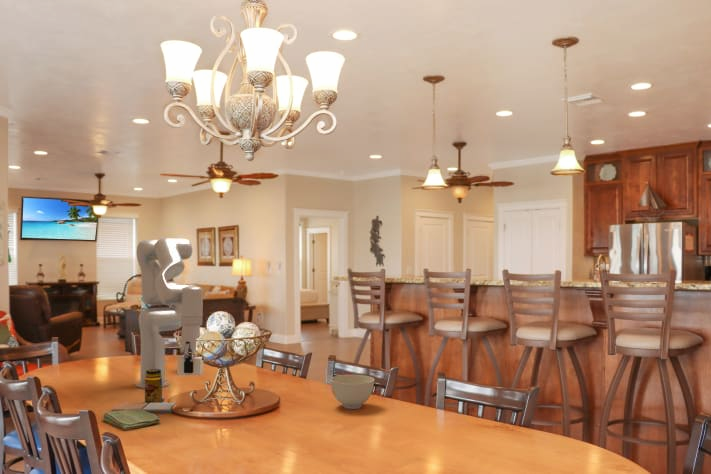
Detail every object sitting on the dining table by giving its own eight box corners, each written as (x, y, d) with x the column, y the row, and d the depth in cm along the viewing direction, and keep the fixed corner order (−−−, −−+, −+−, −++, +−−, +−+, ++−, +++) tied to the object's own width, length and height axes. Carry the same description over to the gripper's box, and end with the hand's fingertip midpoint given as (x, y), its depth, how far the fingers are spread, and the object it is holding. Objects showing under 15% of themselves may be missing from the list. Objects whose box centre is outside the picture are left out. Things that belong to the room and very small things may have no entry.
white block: (181, 371, 234) (182, 355, 233) (203, 371, 234) (204, 355, 234) (177, 375, 228) (177, 358, 227) (200, 375, 228) (200, 358, 228)
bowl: (369, 413, 222) (370, 385, 222) (325, 411, 226) (325, 382, 226) (377, 402, 238) (377, 375, 238) (335, 400, 241) (335, 373, 241)
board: (121, 406, 230) (121, 402, 230) (177, 406, 231) (177, 402, 231) (111, 413, 220) (111, 409, 220) (170, 413, 221) (170, 409, 221)
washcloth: (124, 433, 199) (124, 422, 199) (100, 421, 212) (100, 411, 212) (163, 425, 208) (163, 415, 208) (137, 414, 221) (138, 405, 221)
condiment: (143, 405, 231) (143, 372, 231) (143, 400, 239) (143, 367, 239) (164, 404, 233) (164, 371, 233) (164, 398, 241) (164, 366, 241)
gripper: (187, 317, 239) (186, 365, 239) (174, 324, 222) (173, 376, 222) (207, 317, 239) (206, 366, 239) (196, 324, 222) (195, 376, 222)
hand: (190, 370), depth 231 cm, fingers closed on white block, 6 cm apart
